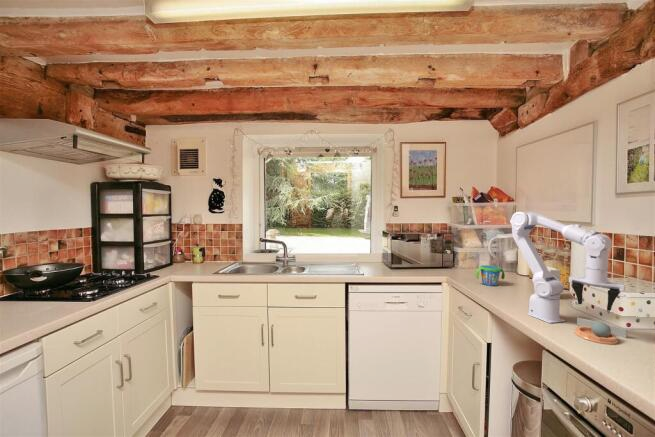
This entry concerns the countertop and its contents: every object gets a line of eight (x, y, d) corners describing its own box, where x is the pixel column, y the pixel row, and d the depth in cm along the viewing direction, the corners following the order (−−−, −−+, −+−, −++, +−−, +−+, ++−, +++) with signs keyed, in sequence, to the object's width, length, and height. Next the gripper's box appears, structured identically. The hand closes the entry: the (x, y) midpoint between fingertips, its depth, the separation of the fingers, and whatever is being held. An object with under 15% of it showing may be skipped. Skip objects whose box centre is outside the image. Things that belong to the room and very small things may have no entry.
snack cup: (499, 282, 171) (500, 265, 171) (509, 287, 161) (509, 269, 161) (472, 281, 173) (472, 264, 172) (479, 286, 162) (480, 268, 162)
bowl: (566, 331, 104) (566, 327, 104) (588, 328, 106) (588, 324, 106) (602, 346, 93) (602, 341, 93) (626, 342, 96) (626, 337, 96)
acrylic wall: (576, 325, 109) (577, 318, 109) (577, 324, 110) (578, 317, 110) (626, 338, 99) (626, 330, 99) (626, 337, 100) (627, 329, 100)
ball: (583, 327, 101) (594, 317, 99) (593, 328, 103) (603, 318, 100) (597, 340, 97) (608, 330, 95) (607, 340, 98) (618, 331, 96)
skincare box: (534, 294, 148) (535, 265, 147) (545, 294, 149) (546, 265, 148) (548, 300, 140) (549, 269, 139) (559, 299, 140) (561, 269, 140)
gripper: (627, 271, 99) (625, 310, 99) (573, 263, 110) (571, 299, 111) (623, 273, 94) (621, 314, 95) (567, 265, 106) (565, 302, 107)
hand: (594, 306), depth 103 cm, fingers open, 7 cm apart
